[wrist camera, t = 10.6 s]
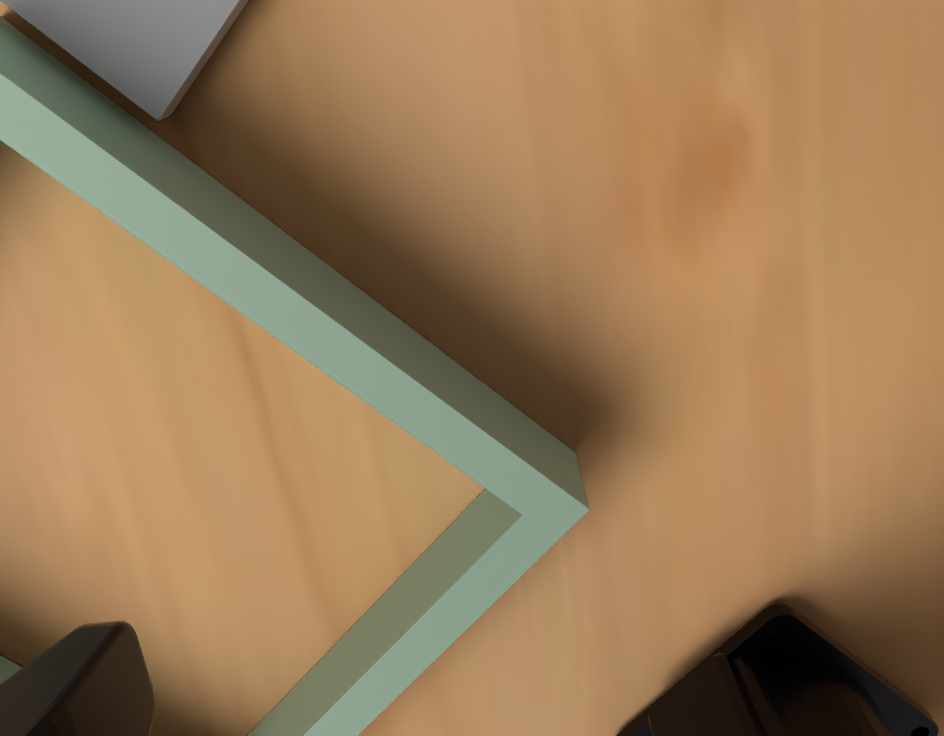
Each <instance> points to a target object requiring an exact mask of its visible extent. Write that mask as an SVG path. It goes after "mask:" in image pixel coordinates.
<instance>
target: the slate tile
mask: <svg viewBox="0 0 944 736" xmlns="http://www.w3.org/2000/svg"><path fill="white" fill-rule="evenodd" d="M0 1H2V2H3V3H4V4H5V5H7V6H8V7H9V8H11V9H12V10H13V11H15V12H16V13H17V14H19V15H20V16H21V17H23V18H24V19H25V20H26V21H28V22H29V23H30V24H32V25H33V26H34V27H36V28H37V29H38V30H40V31H41V32H42V33H43V34H45V35H46V36H47V37H49V38H50V39H51V40H53V41H54V42H55V43H57V44H58V45H59V46H60V47H62V48H63V49H64V50H66V51H67V52H68V53H70V54H71V55H72V56H74V57H75V58H76V59H77V60H79V61H80V62H81V63H83V64H84V65H85V66H87V67H88V68H89V69H91V70H92V71H93V72H94V73H96V74H97V75H98V76H100V77H101V78H102V79H104V80H105V81H106V82H108V83H109V84H110V85H112V86H113V87H114V88H115V89H117V90H118V91H119V92H121V93H122V94H123V95H125V96H126V97H127V98H129V99H130V100H131V101H132V102H134V103H135V104H136V105H138V106H139V107H140V108H142V109H143V110H144V111H146V112H147V113H148V114H149V115H151V116H152V117H153V118H155V119H156V120H157V121H159V120H161V119H164V118H166V117H168V116H171V114H172V113H173V111H174V110H175V108H176V107H177V105H178V104H179V102H180V101H181V99H182V98H183V96H184V95H185V93H186V92H187V90H188V89H189V88H190V86H191V85H192V83H193V82H194V80H195V79H196V77H197V76H198V74H199V73H200V71H201V70H202V68H203V67H204V65H205V64H206V63H207V61H208V60H209V58H210V57H211V55H212V54H213V52H214V51H215V49H216V48H217V46H218V45H219V43H220V42H221V40H222V39H223V37H224V36H225V35H226V33H227V32H228V30H229V29H230V27H231V26H232V24H233V23H234V21H235V20H236V18H237V17H238V15H239V14H240V12H241V11H242V10H243V8H244V7H245V5H246V4H247V2H248V1H249V0H0Z"/></svg>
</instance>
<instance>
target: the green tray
mask: <svg viewBox="0 0 944 736" xmlns="http://www.w3.org/2000/svg"><path fill="white" fill-rule="evenodd" d="M0 140H1V141H2V142H4V143H5V144H7V145H8V146H9V147H11V148H12V149H14V150H15V151H16V152H18V153H19V154H21V155H22V156H23V157H25V158H26V159H28V160H29V161H30V162H32V163H33V164H34V165H36V166H37V167H39V168H40V169H41V170H43V171H44V172H46V173H47V174H48V175H50V176H51V177H53V178H54V179H55V180H57V181H58V182H60V183H61V184H62V185H64V186H65V187H67V188H68V189H69V190H71V191H72V192H73V193H75V194H76V195H78V196H79V197H80V198H82V199H83V200H85V201H86V202H87V203H89V204H90V205H92V206H93V207H94V208H96V209H97V210H99V211H100V212H101V213H103V214H104V215H105V216H107V217H108V218H110V219H111V220H112V221H114V222H115V223H117V224H118V225H119V226H121V227H122V228H124V229H125V230H126V231H128V232H129V233H131V234H132V235H133V236H135V237H136V238H138V239H139V240H140V241H142V242H143V243H144V244H146V245H147V246H149V247H150V248H151V249H153V250H154V251H156V252H157V253H158V254H160V255H161V256H163V257H164V258H165V259H167V260H168V261H170V262H171V263H172V264H174V265H175V266H177V267H178V268H179V269H181V270H182V271H183V272H185V273H186V274H188V275H189V276H190V277H192V278H193V279H195V280H196V281H197V282H199V283H200V284H202V285H203V286H204V287H206V288H207V289H209V290H210V291H211V292H213V293H214V294H215V295H217V296H218V297H220V298H221V299H222V300H224V301H225V302H227V303H228V304H229V305H231V306H232V307H234V308H235V309H236V310H238V311H239V312H241V313H242V314H243V315H245V316H246V317H248V318H249V319H250V320H252V321H253V322H254V323H256V324H257V325H259V326H260V327H261V328H263V329H264V330H266V331H267V332H268V333H270V334H271V335H273V336H274V337H275V338H277V339H278V340H280V341H281V342H282V343H284V344H285V345H287V346H288V347H289V348H291V349H292V350H293V351H295V352H296V353H298V354H299V355H300V356H302V357H303V358H305V359H306V360H307V361H309V362H310V363H312V364H313V365H314V366H316V367H317V368H319V369H320V370H321V371H323V372H324V373H325V374H327V375H328V376H330V377H331V378H332V379H334V380H335V381H337V382H338V383H339V384H341V385H342V386H344V387H345V388H346V389H348V390H349V391H351V392H352V393H353V394H355V395H356V396H358V397H359V398H360V399H362V400H363V401H364V402H366V403H367V404H369V405H370V406H371V407H373V408H374V409H376V410H377V411H378V412H380V413H381V414H383V415H384V416H385V417H387V418H388V419H390V420H391V421H392V422H394V423H395V424H397V425H398V426H399V427H401V428H402V429H403V430H405V431H406V432H408V433H409V434H410V435H412V436H413V437H415V438H416V439H417V440H419V441H420V442H422V443H423V444H424V445H426V446H427V447H429V448H430V449H431V450H433V451H434V452H435V453H437V454H438V455H440V456H441V457H442V458H444V459H445V460H447V461H448V462H449V463H451V464H452V465H454V466H455V467H456V468H458V469H459V470H461V471H462V472H463V473H465V474H466V475H468V476H469V477H470V478H472V479H473V480H474V481H476V482H477V483H479V484H480V485H481V486H483V487H484V488H486V489H485V490H484V491H483V492H482V493H481V494H480V495H479V496H478V497H477V498H476V499H475V500H474V501H473V502H472V503H471V504H470V505H469V506H468V507H467V509H466V510H465V511H464V512H463V513H462V514H461V515H460V516H459V517H458V518H457V519H456V520H455V521H454V522H453V523H452V524H451V525H450V526H449V527H448V528H447V529H446V530H445V531H444V532H443V533H442V534H441V535H440V537H439V538H438V539H437V540H436V541H435V542H434V543H433V544H432V545H431V546H430V547H429V548H428V549H427V550H426V551H425V552H424V553H423V554H422V555H421V556H420V557H419V558H418V559H417V560H416V561H415V562H414V563H413V565H412V566H411V567H410V568H409V569H408V570H407V571H406V572H405V573H404V574H403V575H402V576H401V577H400V578H399V579H398V580H397V581H396V582H395V583H394V584H393V585H392V586H391V587H390V588H389V589H388V590H387V591H386V593H385V594H384V595H383V596H382V597H381V598H380V599H379V600H378V601H377V602H376V603H375V604H374V605H373V606H372V607H371V608H370V609H369V610H368V611H367V612H366V613H365V614H364V615H363V616H362V617H361V618H360V619H359V621H358V622H357V623H356V624H355V625H354V626H353V627H352V628H351V629H350V630H349V631H348V632H347V633H346V634H345V635H344V636H343V637H342V638H341V639H340V640H339V641H338V642H337V643H336V644H335V645H334V646H333V647H332V649H331V650H330V651H329V652H328V653H327V654H326V655H325V656H324V657H323V658H322V659H321V660H320V661H319V662H318V663H317V664H316V665H315V666H314V667H313V668H312V669H311V670H310V671H309V672H308V673H307V674H306V675H305V677H304V678H303V679H302V680H301V681H300V682H299V683H298V684H297V685H296V686H295V687H294V688H293V689H292V690H291V691H290V692H289V693H288V694H287V695H286V696H285V697H284V698H283V699H282V700H281V701H280V702H279V703H278V705H277V706H276V707H275V708H274V709H273V710H272V711H271V712H270V713H269V714H268V715H267V716H266V717H265V718H264V719H263V720H262V721H261V722H260V723H259V724H258V725H257V726H256V727H255V728H254V729H253V730H252V731H251V733H250V734H249V735H248V736H358V735H359V734H360V733H361V732H362V731H363V730H364V729H365V728H366V727H367V726H368V725H369V724H370V723H371V722H372V721H373V720H374V719H375V718H376V717H377V716H378V715H379V714H380V713H381V712H382V711H383V710H384V709H385V708H386V707H387V706H388V705H389V704H390V703H391V702H392V701H393V700H394V699H396V698H397V697H398V696H399V695H400V694H401V693H402V692H403V691H404V690H405V689H406V688H407V687H408V686H409V685H410V684H411V683H412V682H413V681H414V680H415V679H416V678H417V677H418V676H419V675H420V674H421V673H422V672H423V671H424V670H425V669H426V668H427V667H428V666H429V665H430V664H431V663H432V662H434V661H435V660H436V659H437V658H438V657H439V656H440V655H441V654H442V653H443V652H444V651H445V650H446V649H447V648H448V647H449V646H450V645H451V644H452V643H453V642H454V641H455V640H456V639H457V638H458V637H459V636H460V635H461V634H462V633H463V632H464V631H465V630H466V629H467V628H468V627H469V626H470V625H472V624H473V623H474V622H475V621H476V620H477V619H478V618H479V617H480V616H481V615H482V614H483V613H484V612H485V611H486V610H487V609H488V608H489V607H490V606H491V605H492V604H493V603H494V602H495V601H496V600H497V599H498V598H499V597H500V596H501V595H502V594H503V593H504V592H505V591H506V590H507V589H508V588H510V587H511V586H512V585H513V584H514V583H515V582H516V581H517V580H518V579H519V578H520V577H521V576H522V575H523V574H524V573H525V572H526V571H527V570H528V569H529V568H530V567H531V566H532V565H533V564H534V563H535V562H536V561H537V560H538V559H539V558H540V557H541V556H542V555H543V554H544V553H545V552H546V551H548V550H549V549H550V548H551V547H552V546H553V545H554V544H555V543H556V542H557V541H558V540H559V539H560V538H561V537H562V536H563V535H564V534H565V533H566V532H567V531H568V530H569V529H570V528H571V527H572V526H573V525H574V524H575V523H576V522H577V521H578V520H579V519H580V518H581V517H582V516H583V515H584V514H586V513H587V512H588V511H589V510H590V509H589V505H588V501H587V497H586V493H585V489H584V485H583V481H582V478H581V474H580V470H579V466H578V462H577V458H576V454H575V452H574V451H573V450H571V449H570V448H569V447H567V446H566V445H565V444H563V443H562V442H561V441H559V440H558V439H557V438H556V437H554V436H553V435H552V434H550V433H549V432H548V431H546V430H545V429H544V428H542V427H541V426H540V425H538V424H537V423H536V422H534V421H533V420H532V419H530V418H529V417H528V416H527V415H525V414H524V413H523V412H521V411H520V410H519V409H517V408H516V407H515V406H513V405H512V404H511V403H509V402H508V401H507V400H505V399H504V398H503V397H502V396H500V395H499V394H498V393H496V392H495V391H494V390H492V389H491V388H490V387H488V386H487V385H486V384H484V383H483V382H482V381H480V380H479V379H478V378H476V377H475V376H474V375H473V374H471V373H470V372H469V371H467V370H466V369H465V368H463V367H462V366H461V365H459V364H458V363H457V362H455V361H454V360H453V359H451V358H450V357H449V356H447V355H446V354H445V353H444V352H442V351H441V350H440V349H438V348H437V347H436V346H434V345H433V344H432V343H430V342H429V341H428V340H426V339H425V338H424V337H422V336H421V335H420V334H418V333H417V332H416V331H415V330H413V329H412V328H411V327H409V326H408V325H407V324H405V323H404V322H403V321H401V320H400V319H399V318H397V317H396V316H395V315H393V314H392V313H391V312H389V311H388V310H387V309H386V308H384V307H383V306H382V305H380V304H379V303H378V302H376V301H375V300H374V299H372V298H371V297H370V296H368V295H367V294H366V293H364V292H363V291H362V290H361V289H359V288H358V287H357V286H355V285H354V284H353V283H351V282H350V281H349V280H347V279H346V278H345V277H343V276H342V275H341V274H339V273H338V272H337V271H335V270H334V269H333V268H332V267H330V266H329V265H328V264H326V263H325V262H324V261H322V260H321V259H320V258H318V257H317V256H316V255H314V254H313V253H312V252H310V251H309V250H308V249H306V248H305V247H304V246H303V245H301V244H300V243H299V242H297V241H296V240H295V239H293V238H292V237H291V236H289V235H288V234H287V233H285V232H284V231H283V230H281V229H280V228H279V227H277V226H276V225H275V224H274V223H272V222H271V221H270V220H268V219H267V218H266V217H264V216H263V215H262V214H260V213H259V212H258V211H256V210H255V209H254V208H252V207H251V206H250V205H249V204H247V203H246V202H245V201H243V200H242V199H241V198H239V197H238V196H237V195H235V194H234V193H233V192H231V191H230V190H229V189H227V188H226V187H225V186H223V185H222V184H221V183H220V182H218V181H217V180H216V179H214V178H213V177H212V176H210V175H209V174H208V173H206V172H205V171H204V170H202V169H201V168H200V167H198V166H197V165H196V164H194V163H193V162H192V161H191V160H189V159H188V158H187V157H185V156H184V155H183V154H181V153H180V152H179V151H177V150H176V149H175V148H173V147H172V146H171V145H169V144H168V143H167V142H165V141H164V140H163V139H162V138H160V137H159V136H158V135H156V134H155V133H154V132H152V131H151V130H150V129H148V128H147V127H146V126H144V125H143V124H142V123H140V122H139V121H138V120H136V119H135V118H134V117H133V116H131V115H130V114H129V113H127V112H126V111H125V110H123V109H122V108H121V107H119V106H118V105H117V104H115V103H114V102H113V101H111V100H110V99H109V98H108V97H106V96H105V95H104V94H102V93H101V92H100V91H98V90H97V89H96V88H94V87H93V86H92V85H90V84H89V83H88V82H86V81H85V80H84V79H82V78H81V77H80V76H79V75H77V74H76V73H75V72H73V71H72V70H71V69H69V68H68V67H67V66H65V65H64V64H63V63H61V62H60V61H59V60H57V59H56V58H55V57H53V56H52V55H51V54H50V53H48V52H47V51H46V50H44V49H43V48H42V47H40V46H39V45H38V44H36V43H35V42H34V41H32V40H31V39H30V38H28V37H27V36H26V35H24V34H23V33H22V32H21V31H19V30H18V29H17V28H15V27H14V26H13V25H11V24H10V23H9V22H7V21H6V20H5V19H3V18H2V17H1V16H0ZM21 668H23V667H21V666H19V665H17V664H15V663H14V662H12V661H10V660H8V659H6V658H4V657H3V656H1V655H0V684H1V683H2V682H4V681H5V680H6V679H8V678H9V677H11V676H12V675H13V674H15V673H16V672H17V671H19V670H20V669H21Z"/></svg>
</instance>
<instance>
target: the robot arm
mask: <svg viewBox="0 0 944 736" xmlns="http://www.w3.org/2000/svg"><path fill="white" fill-rule="evenodd" d="M784 622H786V623H785V624H784V625H783V626H782V627H780V628H774V626H775V625H777V624H779V623H784ZM154 709H155V699H154V692H153V687H152V684H151V681H150V677H149V674H148V671H147V667H146V664H145V661H144V657H143V654H142V651H141V647H140V644H139V641H138V638H137V635H136V632H135V630H134V629H133V627H132V626H131V625H130V624H129V623H127V622H125V621H114V622H101V623H90V624H84V625H82V626H79V627H78V628H76V629H75V630H73V631H72V632H71V633H69V634H68V635H67V636H65V637H64V638H63V639H61V640H60V641H58V642H57V643H56V644H54V645H53V646H52V647H50V648H49V649H47V650H46V651H45V652H43V653H42V654H41V655H39V656H38V657H37V658H35V659H34V660H32V661H31V662H30V663H28V664H27V665H26V666H24V667H23V668H21V669H20V670H19V671H17V672H16V673H15V674H13V675H12V676H11V677H9V678H8V679H6V680H5V681H4V682H2V683H1V684H0V736H150V732H151V727H152V723H153V718H154ZM917 727H918V728H917ZM915 728H916V729H915ZM937 735H938V726H937V725H936V723H935V722H934V720H933V719H932V717H931V716H930V714H929V713H928V712H927V711H926V710H925V709H923V708H922V707H921V706H919V705H918V704H917V703H915V702H914V701H913V700H912V699H910V698H909V697H908V696H906V695H905V694H904V693H902V692H901V691H900V690H898V689H897V688H896V687H894V686H893V685H892V684H891V683H889V682H888V681H887V680H885V679H884V678H883V677H881V676H880V675H879V674H877V673H876V672H875V671H874V670H872V669H871V668H870V667H868V666H867V665H866V664H864V663H863V662H862V661H860V660H859V659H858V658H856V657H855V656H854V655H853V654H851V653H850V652H849V651H847V650H846V649H845V648H843V647H842V646H841V645H839V644H838V643H837V642H835V641H834V640H833V639H832V638H830V637H829V636H828V635H826V634H825V633H824V632H822V631H821V630H820V629H818V628H817V627H816V626H815V625H813V624H812V623H811V622H809V621H808V620H807V619H805V618H804V617H803V616H801V615H800V614H799V613H797V612H796V611H795V610H794V609H792V608H791V607H788V606H786V605H774V606H770V607H768V608H767V609H765V610H763V611H762V612H761V613H760V614H759V615H758V616H756V617H755V618H754V619H753V620H752V621H751V622H749V623H748V624H747V625H746V626H745V627H743V628H742V629H741V630H740V631H739V632H738V633H736V634H735V635H734V636H733V637H732V638H731V639H729V640H728V641H727V642H726V643H725V644H724V645H722V646H721V647H720V648H719V649H718V650H716V651H715V652H714V653H713V654H712V655H711V656H709V657H708V658H707V659H706V660H705V661H704V662H702V663H701V664H700V665H699V666H698V667H696V668H695V669H694V670H693V671H692V672H691V673H689V674H688V675H687V676H686V677H685V678H684V679H682V680H681V681H680V682H679V683H678V684H677V685H675V686H674V687H673V688H672V689H671V690H669V691H668V692H667V693H666V694H665V695H664V696H662V697H661V698H660V699H659V700H658V701H657V702H655V703H654V704H653V705H652V706H651V707H649V708H648V709H647V710H646V711H645V712H644V713H642V714H641V715H640V716H639V717H638V718H637V719H635V720H634V721H633V722H632V723H631V724H630V725H628V726H627V727H626V728H625V729H624V730H622V731H621V732H620V733H619V734H618V735H617V736H937Z"/></svg>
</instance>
